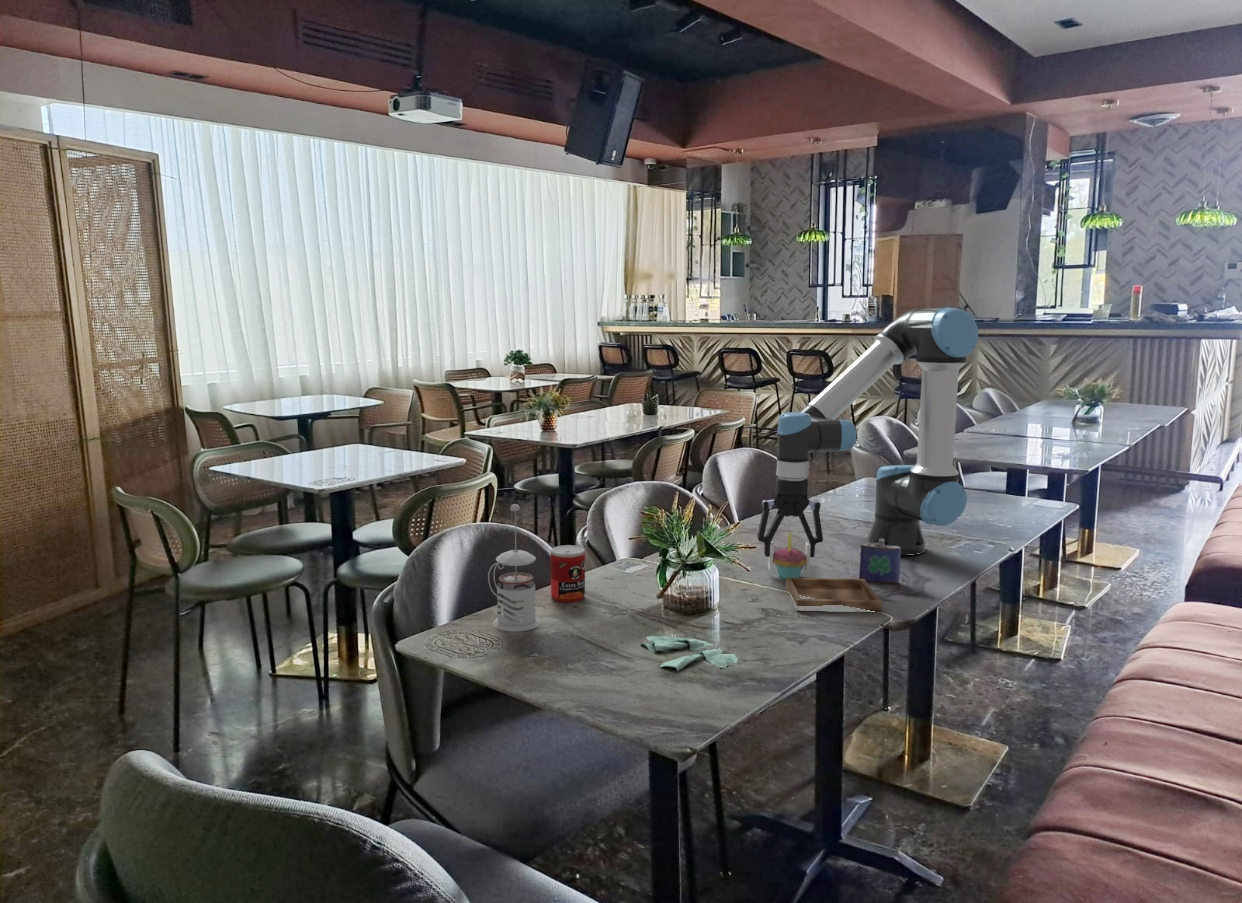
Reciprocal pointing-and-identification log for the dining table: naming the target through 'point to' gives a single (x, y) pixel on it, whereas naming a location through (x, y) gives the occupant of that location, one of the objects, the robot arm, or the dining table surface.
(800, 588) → the tray
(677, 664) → the cloth
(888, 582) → the flask
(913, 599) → the dining table surface
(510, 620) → the french press
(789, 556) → the cupcake
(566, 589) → the canned food
